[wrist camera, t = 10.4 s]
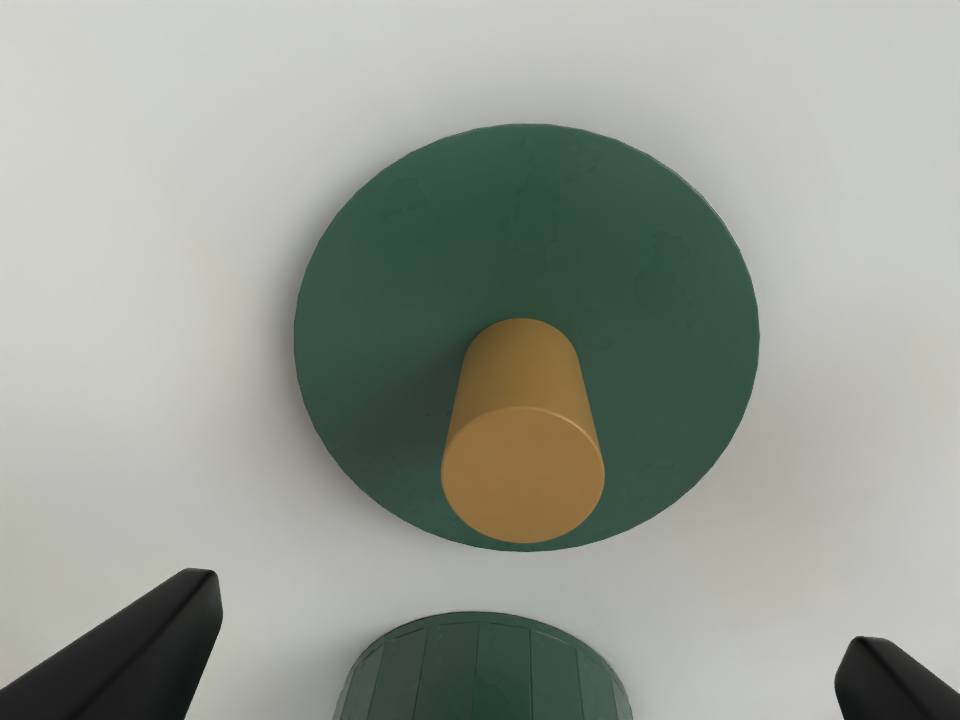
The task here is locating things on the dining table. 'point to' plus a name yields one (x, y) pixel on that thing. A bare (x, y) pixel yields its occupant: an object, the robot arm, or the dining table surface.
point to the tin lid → (526, 337)
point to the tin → (481, 674)
